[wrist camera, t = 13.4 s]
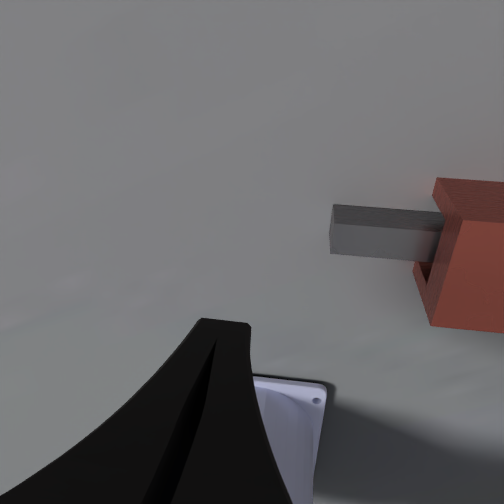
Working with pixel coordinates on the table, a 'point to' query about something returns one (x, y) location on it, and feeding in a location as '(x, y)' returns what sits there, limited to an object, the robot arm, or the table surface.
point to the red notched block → (466, 258)
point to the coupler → (385, 233)
